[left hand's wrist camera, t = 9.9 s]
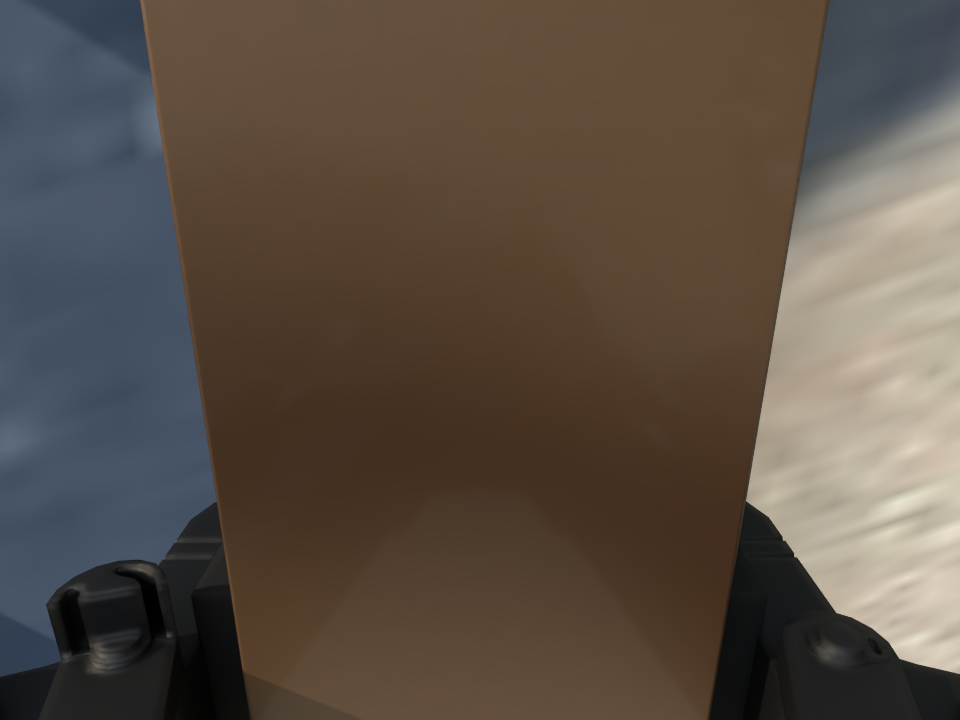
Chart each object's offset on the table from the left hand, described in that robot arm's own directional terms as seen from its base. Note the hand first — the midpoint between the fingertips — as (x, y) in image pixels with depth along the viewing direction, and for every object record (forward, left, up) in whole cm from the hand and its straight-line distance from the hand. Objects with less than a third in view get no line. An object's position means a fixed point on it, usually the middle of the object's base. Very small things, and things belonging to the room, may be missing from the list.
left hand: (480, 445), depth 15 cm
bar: (+9, +26, -1) cm, 28 cm away
